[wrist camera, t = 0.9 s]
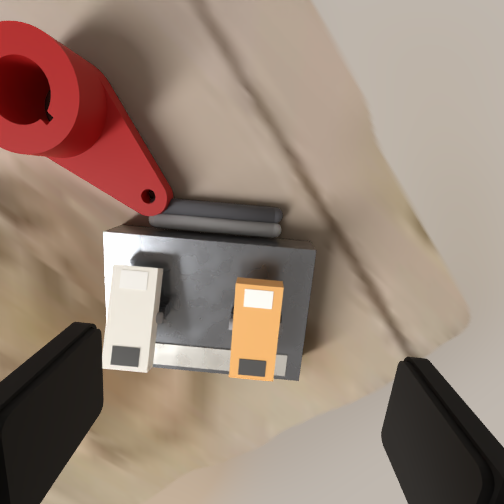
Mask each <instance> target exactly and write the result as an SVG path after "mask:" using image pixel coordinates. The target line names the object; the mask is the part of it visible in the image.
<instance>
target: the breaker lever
mask: <svg viewBox="0 0 504 504" xmlns="http://www.w3.org/2000/svg"><path fill="white" fill-rule="evenodd" d="M283 289H284V286H283V281H275V280H263V279H252V278H241V277H237V280H236V287H235V300H234V314H233V319H230V320H229V330H232V342H231V356H230V370H229V377H232V378H243V379H253V380H264V381H273V378H274V369H275V360H276V352H277V343H278V334H279V335H282V329H283V324H282V323H280V316H281V307H282V298H283Z"/></svg>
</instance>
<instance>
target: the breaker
mask: <svg viewBox="0 0 504 504" xmlns="http://www.w3.org/2000/svg"><path fill="white" fill-rule="evenodd" d="M162 276H163V268H152V267H141V266H129V265H117V264H113V269H112V277H111V286H110V295H109V303H108V312H107V320H106V329H105V338H104V346H103V355H102V368H104V369H114V370H125V371H135V372H146V373H147V372H148V371H149V370H150V369H151V368H152V367H153V361H154V352H155V342H156V333H157V323H160V324H161V323H162V321H163V312H159V305H160V295H161V286H162Z"/></svg>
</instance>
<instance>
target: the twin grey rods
mask: <svg viewBox="0 0 504 504" xmlns="http://www.w3.org/2000/svg"><path fill="white" fill-rule="evenodd" d="M154 201H155V197H154V198H152V199H151V200H150V202H151V203H153V202H154ZM282 218H283V213H282V211H281V210H280V209H279V208H277V207H266V206H255V205H243V204H231V203H219V202H208V201H196V200H184V199H173V198H172V199H171V200H170V203H169V205H168V207H167V209H166V210H165V211H164V212H163V213H161V214H158V215H155V216H149V223H150V225H151V226H153V227H156V228H167V229H178V230H190V231H201V232H213V233H224V234H236V235H247V236H259V237H270V238H275V237H278V236H279V235H280V233H281V226H280V225H279V224H278V222H280V221H281V220H282Z"/></svg>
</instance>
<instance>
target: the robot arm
mask: <svg viewBox="0 0 504 504" xmlns="http://www.w3.org/2000/svg"><path fill="white" fill-rule="evenodd" d="M102 407H103V370H102V338H101V331H100V329H97V328H96V325H95V324H91V323H81V322H74V323H72V324H71V325H70V326H69V327H67V328H66V329H65V330H64V331H62V332H61V333H60V334H59V335H57V336H56V337H55V338H54V339H53V340H51V341H50V342H49V343H48V344H46V345H45V346H44V347H43V348H42V349H40V350H39V351H38V352H37V353H35V354H34V355H33V356H32V357H30V358H29V359H28V360H27V361H26V362H24V363H23V364H22V365H21V366H19V367H18V368H17V369H16V370H15V371H13V372H12V373H11V374H10V375H8V376H7V377H6V378H5V379H3V380H2V381H1V382H0V504H40V503H41V501H42V500H43V498H44V497H45V495H46V494H47V492H48V491H49V489H50V488H51V486H52V485H53V483H54V482H55V480H56V479H57V477H58V476H59V474H60V473H61V471H62V470H63V468H64V467H65V465H66V464H67V462H68V461H69V459H70V458H71V456H72V455H73V453H74V452H75V450H76V449H77V447H78V446H79V444H80V443H81V441H82V440H83V438H84V437H85V435H86V434H87V432H88V431H89V429H90V428H91V426H92V425H93V423H94V422H95V420H96V419H97V417H98V416H99V414H100V412H101V410H102ZM381 437H382V443H383V446H384V448H385V451H386V453H387V455H388V457H389V460H390V462H391V465H392V467H393V469H394V471H395V474H396V476H397V478H398V481H399V483H400V486H401V488H402V490H403V493H404V495H405V497H406V500H407V502H408V504H504V448H503V446H502V445H501V444H500V443H499V442H498V441H497V439H496V438H495V437H494V436H493V435H492V434H491V432H490V431H489V430H488V429H487V428H486V427H485V425H484V424H483V423H482V422H481V421H480V419H479V418H478V417H477V416H476V415H475V414H474V412H473V411H472V410H471V409H470V408H469V407H468V405H466V403H465V402H464V401H463V400H462V398H461V397H460V396H459V395H458V394H457V393H456V392H455V390H454V389H453V388H452V387H451V386H450V384H449V383H448V382H447V381H446V380H445V379H444V377H443V376H442V375H441V374H440V373H439V372H438V370H437V369H436V368H435V367H434V366H433V365H432V363H431V362H430V361H429V360H428V359H424V358H415V357H406V358H405V359H404V361H400V362H399V364H398V367H397V371H396V375H395V379H394V383H393V387H392V391H391V395H390V399H389V403H388V407H387V412H386V416H385V420H384V424H383V427H382V432H381Z"/></svg>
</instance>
